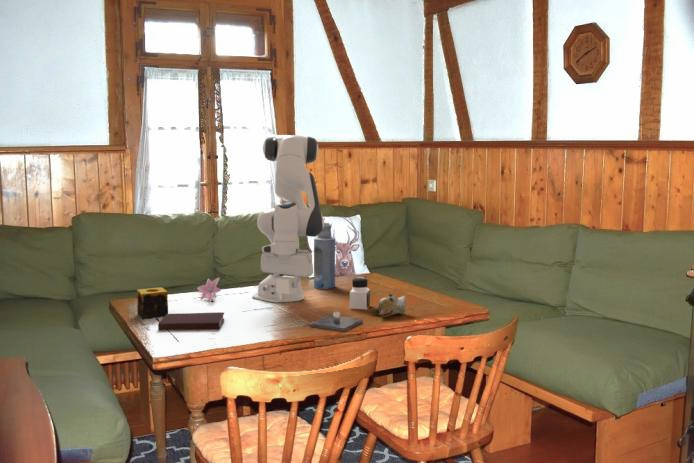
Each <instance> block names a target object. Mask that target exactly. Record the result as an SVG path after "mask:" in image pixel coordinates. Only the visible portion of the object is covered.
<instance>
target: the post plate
mask: <svg viewBox="0 0 694 463" xmlns="http://www.w3.org/2000/svg"><path fill="white" fill-rule="evenodd" d="M332 314H333V315H331V314H329V315H327V316H324V317H322V318H320V319H317V320H316V321H313V322H311V323H309V326H310V328H316V329H322V328H323V330H329V331H338V332H342V333H343V332H346V331H349V330H351V329H352V327H353V328H354V326H355V327H356V325H357V326H358V324H359V325H360V323H361V324H363V319H361V318H354V317H347V316H346V317H345V316H341V312H340V311H333V312H332ZM350 328H351V329H350Z"/></svg>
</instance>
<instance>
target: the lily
mask: <svg viewBox="0 0 694 463" xmlns="http://www.w3.org/2000/svg"><path fill="white" fill-rule="evenodd" d="M219 281H220V277H217V278H214V279H213V280H211V279H210V278H207V280H206V283H205V284H203V285H202V284H201V285H199V286H198V287H197V288H196V289H197V290H198V291H200V293H202V295H201V297H200V301H202V300H204V299H205V298H206V299H207V300H208V301H209V302H210V303H211V302H212V301H213V297H215V298H217V296H216V293H219V292H221V291H222V290H221V288H219V287H217V285H218V283H219Z"/></svg>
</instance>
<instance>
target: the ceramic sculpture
mask: <svg viewBox="0 0 694 463" xmlns="http://www.w3.org/2000/svg"><path fill="white" fill-rule="evenodd" d="M406 307H407V295H406V294H405V295H402V296H400V297H397V295H394V294H391V293H390V294H388V296H387V297H383V298H381V299H380V300H379V302H378V304H377V305H375V306H374V307H373V308H368V309H367V310H366V311H368V312H371V313H373V314H378V317H382V318H387V317H391V316H394V315H396V314H397V315H404V314H406V310H407V309H406Z"/></svg>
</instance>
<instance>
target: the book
mask: <svg viewBox="0 0 694 463" xmlns="http://www.w3.org/2000/svg"><path fill="white" fill-rule="evenodd" d="M224 314H225V312H194V313H189V312H188V313H187V312H186V313H168V314H166V315H165V316H164V317H161V319H160V320H159V322H158V324H157V328H158V329H157V330H158V331H199V330H200V331H215V330H216V331H219V330H220V329H221V327H222V325H223V324H224V321H225V318H224Z"/></svg>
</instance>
